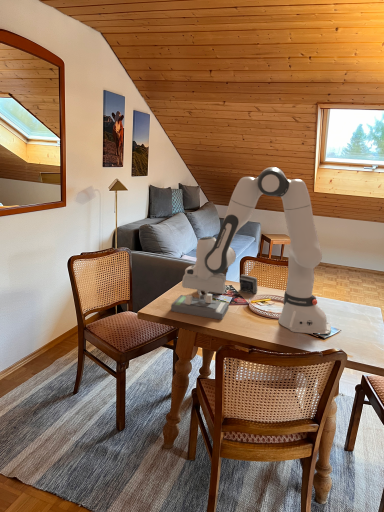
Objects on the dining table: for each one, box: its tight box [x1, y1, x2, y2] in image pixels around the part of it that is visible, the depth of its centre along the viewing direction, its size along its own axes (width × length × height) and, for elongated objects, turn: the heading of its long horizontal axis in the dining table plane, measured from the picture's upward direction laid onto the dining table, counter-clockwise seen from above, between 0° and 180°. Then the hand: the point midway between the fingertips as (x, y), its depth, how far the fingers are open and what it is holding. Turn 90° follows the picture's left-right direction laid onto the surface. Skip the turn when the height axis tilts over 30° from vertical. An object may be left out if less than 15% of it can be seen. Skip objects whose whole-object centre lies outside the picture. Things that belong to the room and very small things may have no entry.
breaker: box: [185, 294, 193, 305], centre depth 181 cm, size 2×3×4 cm
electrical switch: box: [239, 273, 258, 295], centre depth 210 cm, size 9×5×9 cm, turn 57°
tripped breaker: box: [206, 294, 213, 303], centre depth 184 cm, size 2×3×4 cm
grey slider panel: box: [170, 294, 230, 321], centre depth 183 cm, size 24×14×3 cm, turn 74°
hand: (202, 298), depth 185 cm, fingers closed
